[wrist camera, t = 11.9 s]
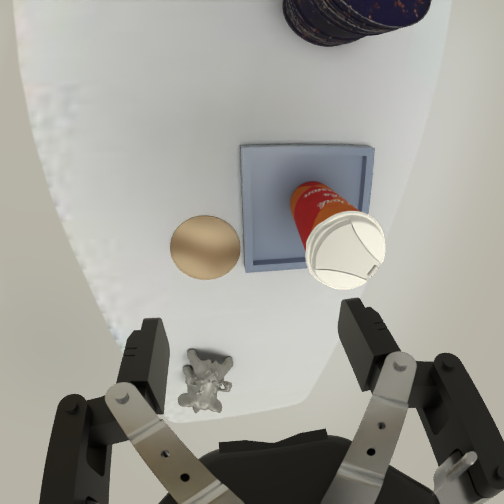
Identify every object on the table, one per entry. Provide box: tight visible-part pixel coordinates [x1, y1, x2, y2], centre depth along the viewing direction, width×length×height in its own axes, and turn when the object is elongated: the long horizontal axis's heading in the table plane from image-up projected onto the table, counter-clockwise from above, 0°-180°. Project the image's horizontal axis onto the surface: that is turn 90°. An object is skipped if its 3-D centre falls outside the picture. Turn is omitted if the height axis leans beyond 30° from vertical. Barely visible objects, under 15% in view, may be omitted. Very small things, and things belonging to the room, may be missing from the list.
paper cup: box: [290, 181, 385, 290], centre depth 33 cm, size 8×8×14 cm
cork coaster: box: [170, 216, 240, 280], centre depth 41 cm, size 9×9×1 cm
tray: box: [240, 144, 375, 273], centre depth 39 cm, size 16×16×2 cm
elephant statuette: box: [178, 349, 233, 413], centre depth 49 cm, size 9×12×8 cm
